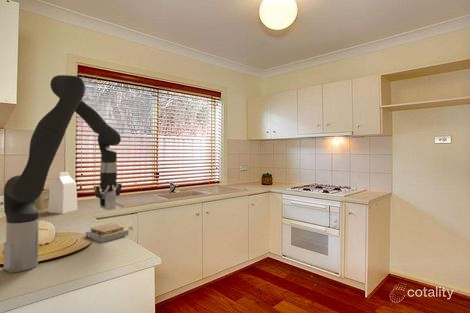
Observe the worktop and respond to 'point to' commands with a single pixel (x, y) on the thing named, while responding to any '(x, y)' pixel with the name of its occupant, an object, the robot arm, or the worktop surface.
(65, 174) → the milk
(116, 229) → the pallet
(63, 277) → the worktop surface
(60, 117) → the robot arm
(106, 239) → the dock
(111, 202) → the medicine box
